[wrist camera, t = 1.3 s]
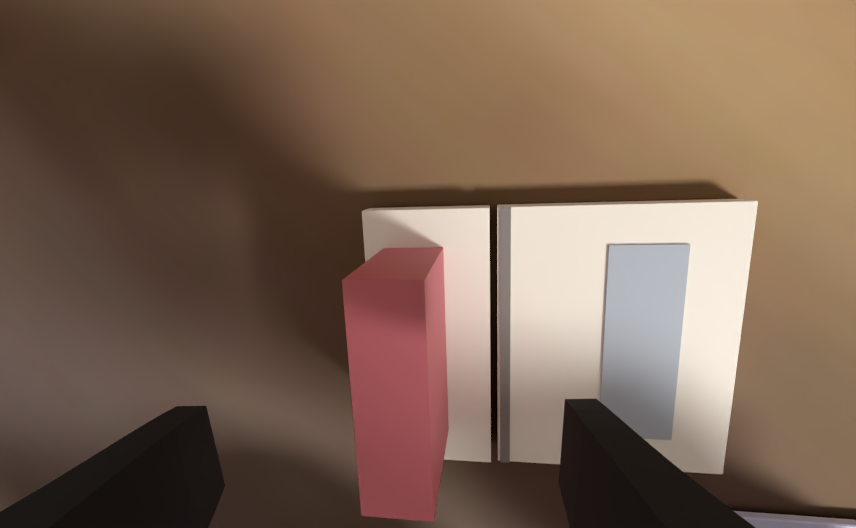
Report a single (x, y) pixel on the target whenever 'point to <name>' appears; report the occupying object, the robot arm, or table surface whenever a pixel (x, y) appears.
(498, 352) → the white flat slab
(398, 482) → the stub
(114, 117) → the table surface
